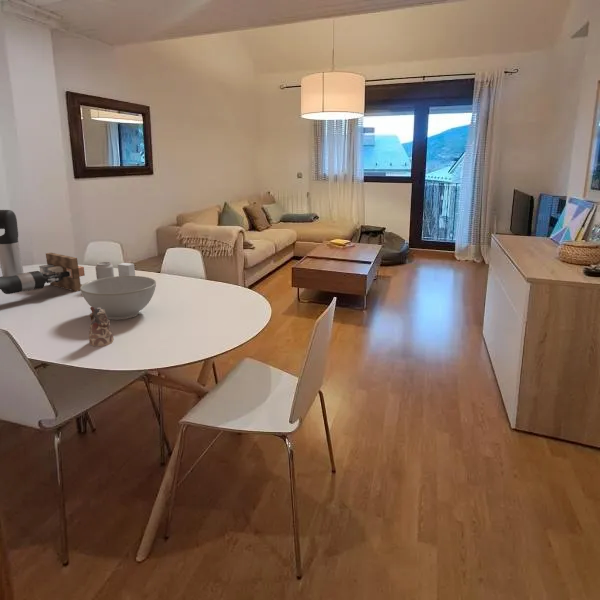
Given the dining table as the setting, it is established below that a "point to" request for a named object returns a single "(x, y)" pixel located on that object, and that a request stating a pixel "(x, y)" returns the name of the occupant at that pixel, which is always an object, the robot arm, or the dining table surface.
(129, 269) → the skincare box
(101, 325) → the figurine
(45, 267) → the key slate
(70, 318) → the dining table surface
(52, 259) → the key panel
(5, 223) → the robot arm
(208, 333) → the dining table surface
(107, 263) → the can
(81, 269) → the key terracotta
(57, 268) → the key ivory
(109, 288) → the decorative bowl
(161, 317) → the dining table surface
